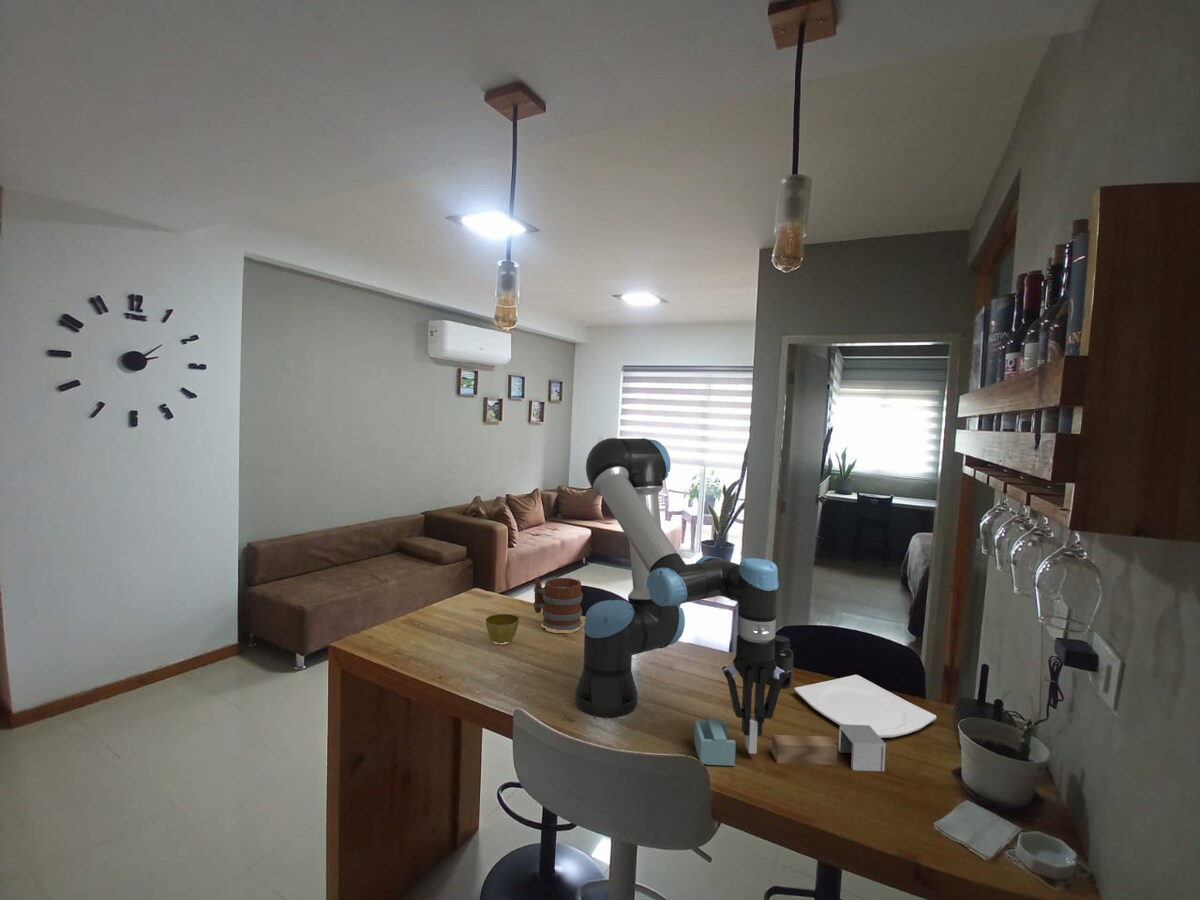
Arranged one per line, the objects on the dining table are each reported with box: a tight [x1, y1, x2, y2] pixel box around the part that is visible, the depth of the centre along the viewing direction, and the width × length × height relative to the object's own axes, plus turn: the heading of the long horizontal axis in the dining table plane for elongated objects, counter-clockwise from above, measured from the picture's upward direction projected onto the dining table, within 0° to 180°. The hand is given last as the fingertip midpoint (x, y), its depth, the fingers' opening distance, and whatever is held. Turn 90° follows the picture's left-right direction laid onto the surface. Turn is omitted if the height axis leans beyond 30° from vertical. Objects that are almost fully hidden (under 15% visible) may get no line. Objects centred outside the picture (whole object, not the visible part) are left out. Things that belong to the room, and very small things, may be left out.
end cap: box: [837, 724, 887, 772], centre depth 109 cm, size 6×7×6 cm
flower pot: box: [485, 613, 520, 643], centre depth 163 cm, size 10×10×7 cm
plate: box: [793, 674, 938, 739], centre depth 129 cm, size 24×24×3 cm
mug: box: [533, 577, 583, 630], centre depth 178 cm, size 14×19×15 cm
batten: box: [771, 734, 839, 766], centre depth 109 cm, size 12×4×4 cm, turn 90°
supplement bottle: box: [766, 634, 794, 689], centre depth 142 cm, size 7×7×12 cm
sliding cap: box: [693, 717, 737, 767], centre depth 109 cm, size 7×8×5 cm
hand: (751, 749), depth 109 cm, fingers closed
